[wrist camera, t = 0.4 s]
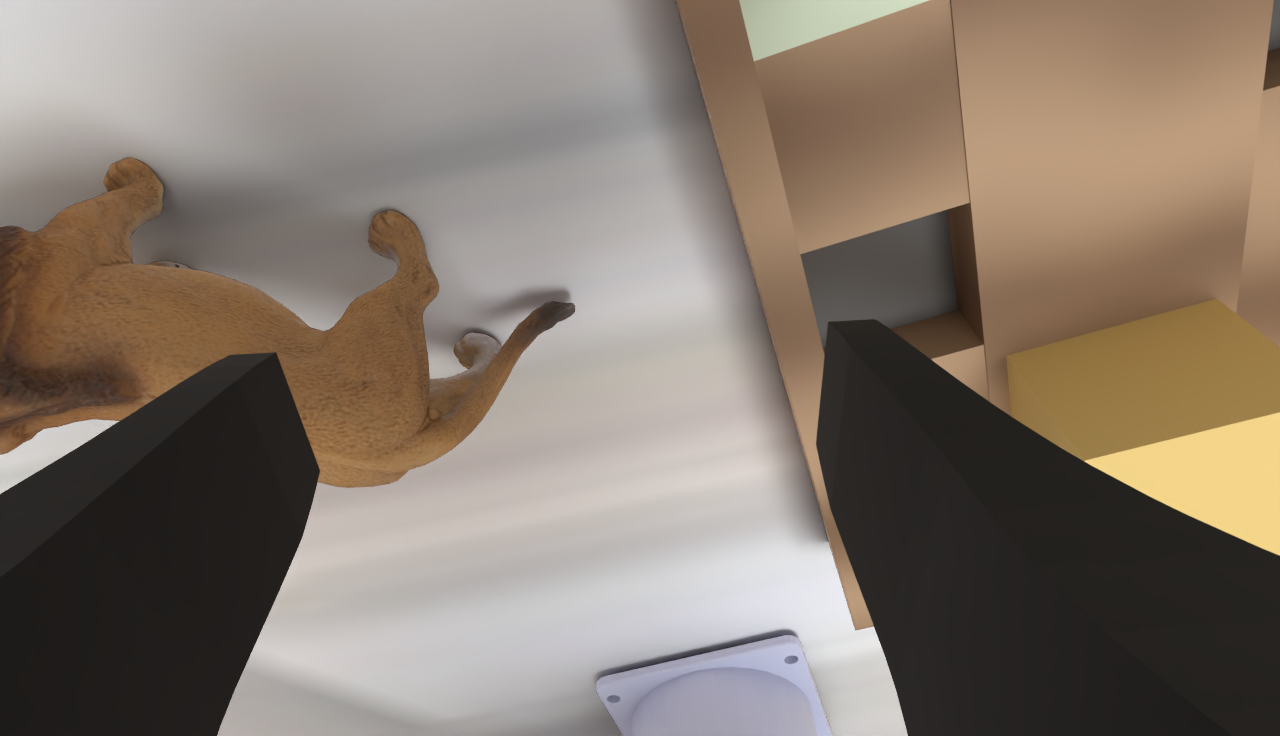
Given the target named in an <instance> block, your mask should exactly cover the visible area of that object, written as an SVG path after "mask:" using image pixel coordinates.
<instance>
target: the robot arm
mask: <svg viewBox="0 0 1280 736" xmlns="http://www.w3.org/2000/svg"><path fill="white" fill-rule="evenodd" d="M816 447H817V452H818V457H819V461H820V466H821V470H822V475H823V480H824V484H825V488H826V492H827V497H828V501H829V505H830V509H831V512H832V515H833V517H834V520H835V523H836V526H837V529H838V531H839V534H840V537H841V539H842V542H843V545H844V548H845V550H846V553H847V556H848V558H849V561H850V564H851V566H852V569H853V572H854V574H855V577H856V580H857V582H858V585H859V588H860V590H861V593H862V596H863V598H864V601H865V604H866V606H867V609H868V612H869V614H870V617H871V620H872V622H873V625H874V628H875V630H876V633H877V636H878V638H879V641H880V644H881V646H882V649H883V652H884V654H885V657H886V660H887V663H888V666H889V669H890V672H891V675H892V679H893V682H894V685H895V688H896V691H897V695H898V698H899V702H900V706H901V710H902V714H903V717H904V721H905V725H906V729H907V733H908V736H1280V556H1279V555H1277V554H1275V553H1272V552H1270V551H1267V550H1265V549H1262V548H1260V547H1258V546H1256V545H1253V544H1251V543H1249V542H1247V541H1244V540H1242V539H1240V538H1238V537H1235V536H1233V535H1231V534H1229V533H1227V532H1224V531H1222V530H1220V529H1218V528H1215V527H1213V526H1211V525H1209V524H1206V523H1204V522H1202V521H1200V520H1198V519H1195V518H1193V517H1191V516H1189V515H1187V514H1184V513H1182V512H1180V511H1178V510H1176V509H1174V508H1172V507H1170V506H1168V505H1166V504H1164V503H1162V502H1160V501H1158V500H1156V499H1154V498H1152V497H1150V496H1148V495H1146V494H1144V493H1142V492H1140V491H1138V490H1136V489H1135V488H1133V487H1131V486H1129V485H1127V484H1125V483H1123V482H1121V481H1120V480H1118V479H1116V478H1114V477H1112V476H1110V475H1108V474H1106V473H1104V472H1103V471H1101V470H1099V469H1097V468H1095V467H1093V466H1091V465H1090V464H1088V463H1086V462H1084V461H1083V460H1081V459H1079V458H1077V457H1076V456H1074V455H1072V454H1071V453H1069V452H1067V451H1065V450H1064V449H1062V448H1060V447H1059V446H1057V445H1056V444H1054V443H1052V442H1051V441H1049V440H1048V439H1046V438H1044V437H1043V436H1041V435H1040V434H1038V433H1037V432H1035V431H1033V430H1032V429H1030V428H1029V427H1027V426H1025V425H1024V424H1022V423H1021V422H1019V421H1017V420H1016V419H1014V418H1013V417H1011V416H1010V415H1008V414H1007V413H1005V412H1004V411H1002V410H1001V409H999V408H998V407H997V406H995V405H994V404H992V403H991V402H989V401H988V400H986V399H985V398H983V397H982V396H981V395H979V394H978V393H976V392H975V391H973V390H972V389H971V388H969V387H968V386H966V385H965V384H964V383H962V382H961V381H959V380H958V379H957V378H955V377H954V376H953V375H951V374H950V373H949V372H947V371H946V370H944V369H943V368H942V367H940V366H939V365H938V364H936V363H935V362H934V361H932V360H931V359H930V358H928V357H927V356H926V355H924V354H923V353H922V352H920V351H919V350H918V349H916V348H915V347H914V346H912V345H911V344H910V343H908V342H907V341H906V340H904V339H903V338H902V337H900V336H899V335H898V334H896V333H895V332H893V331H892V330H891V329H889V328H888V327H886V326H885V325H883V324H882V323H880V322H879V321H877V320H876V319H868V320H850V321H832V322H828V327H827V337H826V347H825V357H824V367H823V377H822V387H821V397H820V407H819V417H818V427H817V437H816ZM319 474H320V469H319V466H318V464H317V461H316V458H315V455H314V453H313V450H312V447H311V445H310V442H309V439H308V437H307V434H306V431H305V428H304V426H303V423H302V420H301V418H300V415H299V412H298V410H297V407H296V404H295V401H294V399H293V396H292V393H291V391H290V388H289V385H288V383H287V380H286V377H285V374H284V372H283V369H282V366H281V364H280V361H279V358H278V356H277V353H276V352H272V353H254V354H236V355H229V356H227V357H225V358H223V359H221V360H219V361H217V362H215V363H213V364H211V365H209V366H207V367H206V368H204V369H202V370H200V371H199V372H197V373H195V374H194V375H192V376H190V377H189V378H187V379H185V380H184V381H182V382H181V383H179V384H177V385H176V386H174V387H173V388H171V389H169V390H168V391H166V392H165V393H163V394H162V395H160V396H158V397H157V398H155V399H154V400H152V401H151V402H149V403H147V404H146V405H144V406H143V407H141V408H140V409H138V410H137V411H135V412H133V413H132V414H130V415H129V416H127V417H126V418H124V419H122V420H121V421H119V422H118V423H116V424H115V425H113V426H111V427H110V428H108V429H107V430H105V431H104V432H102V433H100V434H99V435H97V436H96V437H94V438H93V439H91V440H90V441H88V442H86V443H85V444H83V445H82V446H80V447H78V448H77V449H75V450H73V451H72V452H70V453H68V454H67V455H65V456H63V457H62V458H60V459H58V460H57V461H55V462H53V463H52V464H50V465H48V466H47V467H45V468H43V469H42V470H40V471H38V472H37V473H35V474H33V475H32V476H30V477H28V478H27V479H25V480H23V481H22V482H20V483H18V484H17V485H15V486H13V487H11V488H10V489H8V490H6V491H5V492H3V493H1V494H0V736H217V734H218V731H219V728H220V725H221V723H222V720H223V718H224V715H225V713H226V710H227V708H228V705H229V703H230V700H231V698H232V695H233V693H234V690H235V688H236V686H237V683H238V681H239V679H240V677H241V674H242V672H243V670H244V668H245V666H246V663H247V661H248V659H249V657H250V654H251V652H252V650H253V648H254V645H255V643H256V641H257V639H258V637H259V634H260V632H261V630H262V628H263V625H264V623H265V621H266V619H267V617H268V614H269V612H270V610H271V608H272V605H273V603H274V601H275V599H276V596H277V594H278V592H279V590H280V587H281V585H282V583H283V581H284V578H285V576H286V574H287V571H288V569H289V567H290V565H291V562H292V560H293V558H294V555H295V553H296V551H297V548H298V546H299V543H300V541H301V539H302V536H303V533H304V529H305V526H306V523H307V519H308V516H309V512H310V509H311V505H312V502H313V498H314V494H315V490H316V486H317V482H318V478H319ZM596 692H597V694H598V696H599V698H600V699H601V701H602V702H603V704H604V706H605V707H606V709H607V710H608V712H609V714H610V715H611V717H612V718H613V720H614V721H615V723H616V725H617V726H618V728H619V729H620V731H621V733H622V734H623V736H833V734H832V731H831V728H830V725H829V723H828V720H827V717H826V714H825V711H824V708H823V705H822V703H821V700H820V697H819V694H818V691H817V688H816V685H815V683H814V680H813V677H812V674H811V671H810V668H809V665H808V663H807V660H806V657H805V654H804V651H803V648H802V645H801V643H800V640H799V639H798V638H797V637H795V636H792V635H784V636H779V637H775V638H770V639H766V640H762V641H757V642H753V643H748V644H744V645H740V646H735V647H731V648H726V649H722V650H718V651H713V652H709V653H704V654H700V655H696V656H691V657H687V658H682V659H678V660H674V661H669V662H665V663H660V664H656V665H651V666H647V667H643V668H638V669H634V670H629V671H625V672H621V673H616V674H612V675H607V676H604V677H601V678H600V679H599V680H597V683H596Z"/></svg>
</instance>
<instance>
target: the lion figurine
mask: <svg viewBox="0 0 1280 736" xmlns="http://www.w3.org/2000/svg"><path fill="white" fill-rule="evenodd" d="M104 185H105V186H106V188H107V190H108V192H107V193H105V194H102V195H100V196H98V197H95V198H92V199H89V200H86V201H82V202H79V203H76V204H74V205H72V206H70V207H67V208H66V209H64V210H63V211H61V212H60V213H58V214H57V215H56V216H55V217H54V218H53V219H52V220H51V221H50V222H49V223H48V224H47V225H46V226H45V227H44V228H43V229H41V230H39V231H37V232H29V231H26V230H24V229H22V228H20V227H15V226H6V227H0V455H1V454H5V453H8V452H10V451H11V450H13V449H15V448H17V447H18V446H19V445H21V444H22V443H24V442H26V441H28V440H30V439H32V438H33V437H34V436H35V435H36V434H37V433H38V432H40V431H41V430H43V429H46V428H52V427H59V426H63V425H66V424H70V423H73V422H78V421H85V420H91V419H99V420H115V421H121V420H122V419H124V418H126V417H127V416H129V415H130V414H132V413H133V412H135V411H137V410H138V409H140V408H141V407H143V406H144V405H146V404H147V403H149V402H151V401H152V400H154V399H155V398H157V397H158V396H160V395H162V394H163V393H165V392H166V391H168V390H169V389H171V388H173V387H174V386H176V385H177V384H179V383H181V382H182V381H184V380H185V379H187V378H189V377H190V376H192V375H194V374H195V373H197V372H199V371H200V370H202V369H204V368H206V367H207V366H209V365H211V364H213V363H215V362H217V361H219V360H221V359H223V358H225V357H227V356H229V355H236V354H254V353H272V352H276V353H277V356H278V358H279V361H280V364H281V366H282V369H283V372H284V374H285V377H286V380H287V383H288V385H289V388H290V391H291V393H292V396H293V399H294V401H295V404H296V407H297V410H298V412H299V415H300V418H301V420H302V423H303V426H304V428H305V431H306V434H307V437H308V439H309V442H310V445H311V447H312V450H313V453H314V455H315V458H316V461H317V464H318V466H319V469H320V474H319V478H318V482H320V483H324V484H328V485H332V486H337V487H346V488H353V487H371V486H378V485H384V484H390V483H392V482H394V481H397V480H398V479H400V478H401V477H402V476H403V475H404V474H405V473H406V472H407V471H408V470H410V469H413V468H416V467H420V466H423V465H425V464H428V463H430V462H432V461H434V460H436V459H438V458H439V457H441V456H443V455H444V454H446V453H447V452H449V451H450V450H452V449H453V448H454V447H456V446H457V445H458V444H459V443H460V442H461V441H463V440H464V439H465V438H466V437H467V436H468V435H469V434H470V433H471V432H472V431H473V430H474V429H475V428H476V426H477V425H478V424H479V423H480V422H481V420H482V419H483V418H484V416H485V415H486V413H487V412H488V410H489V409H490V407H491V406H492V404H493V403H494V401H495V399H496V398H497V396H498V394H499V392H500V391H501V389H502V387H503V385H504V383H505V382H506V380H507V378H508V376H509V375H510V373H511V371H512V368H513V367H514V365H515V363H516V362H517V360H518V358H519V357H520V355H521V354H522V353H523V351H524V350H525V349H526V348H527V347H528V346H529V345H530V344H531V343H532V342H533V341H534V339H535V338H536V337H537V336H538V335H539V334H541V333H542V332H544V331H546V330H548V329H550V328H552V327H553V326H554V325H555V324H556V323H557V322H559V321H562V320H565V319H566V318H568V317H570V316H571V315H572V314H573V313H574V312H575V305H574V304H573V303H562V302H555V301H552V302H548V303H545V304H544V305H542V306H541V307H539V308H537V309H536V310H534V311H533V312H532V313H531V314H530V315H529V316H528V317H527V318H526V319H525V320H524V321H522V322H521V323H520V324H518V326H517V327H516V329H515V330H514V332H513V333H512V334H511V336H510V337H509V339H508V340H507V341H506V342H505V344H504V345H503V346H502V347H501V345H500V344H499V343H498V342H497V341H496V340H495V339H493V338H492V337H490V336H488V335H485V334H480V333H473V332H472V333H468V334H466V335H465V336H464V337H463V338H462V339H460V340H459V341H458V342H457V343H456V344H455V347H454V353H455V355H456V356H457V358H458V359H459V362H460V364H462V365H463V366H464V367H466V368H467V369H468V370H466V371H464V372H463V373H460V374H457V375H455V376H452V377H448V378H440V379H430V380H429V362H428V354H427V347H426V341H425V334H424V328H423V312H424V310H425V308H426V307H427V305H428V304H429V303H430V302H431V301H432V300H433V299H434V298H435V297H436V296H437V294H438V292H439V284H438V280H437V278H436V276H435V274H434V272H433V270H432V268H431V266H430V263H429V261H428V258H427V255H426V252H425V246H424V243H423V240H422V237H421V235H420V233H419V231H418V229H417V228H416V226H415V225H414V224H413V223H412V222H411V221H410V220H409V219H408V218H407V217H405V216H403V215H402V214H400V213H398V212H395V211H391V210H389V211H384V212H381V213H379V214H377V215H376V216H375V217H374V218H373V220H372V222H371V225H370V227H369V239H368V242H369V245H370V247H371V249H372V250H373V251H374V252H376V253H378V254H379V255H382V256H384V257H386V258H389V259H392V260H394V261H396V262H397V264H398V270H397V273H396V275H395V276H394V277H393V278H392V279H391V280H389V281H387V282H385V283H384V284H382V285H381V286H379V287H377V288H376V289H374V290H372V291H370V292H368V293H365V294H363V295H362V296H360V297H358V298H356V299H355V300H354V301H353V302H352V303H351V304H350V305H349V307H348V308H347V310H346V311H345V313H344V315H343V316H342V317H341V319H340V320H339V321H338V322H337V323H336V324H335V326H334V327H332V328H331V329H329V330H326V331H321V330H317V329H314V328H310V327H309V326H307V325H306V324H305V323H304V322H303V321H302V320H301V319H300V318H299V317H298V316H296V315H295V314H294V313H292V312H291V311H290V310H288V309H287V308H286V307H284V306H283V305H282V304H280V303H279V302H277V301H275V300H274V299H272V298H271V297H269V296H268V295H267V294H265V293H264V292H262V291H260V290H258V289H257V288H255V287H252V286H249V285H246V284H244V283H241V282H238V281H236V280H233V279H230V278H227V277H225V276H221V275H217V274H213V273H209V272H205V271H200V270H192V269H190V268H188V267H186V266H185V265H183V264H179V263H174V262H169V261H157V262H153V263H150V264H148V265H138V264H133V262H132V247H131V242H130V236H131V235H132V234H133V233H134V231H135V230H136V229H137V228H138V227H139V226H140V225H141V224H143V223H145V222H147V221H149V220H152V219H154V218H156V217H157V216H158V215H160V214H161V212H162V210H163V204H162V198H163V191H164V188H163V185H162V183H161V182H160V180H159V179H158V178H157V176H156V175H155V174H154V172H153V171H152V170H151V169H150V168H149V167H148V166H147V165H145V164H144V163H142V162H140V161H138V160H136V159H132V158H125V159H122V160H120V161H118V162H116V163H114V164H112V165H111V166H110V168H109V170H108V172H107V174H106V176H105V178H104Z"/></svg>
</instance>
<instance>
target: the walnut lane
mask: <svg viewBox="0 0 1280 736" xmlns="http://www.w3.org/2000/svg"><path fill="white" fill-rule="evenodd" d="M676 4H677V8H678V11H679V15H680V18H681V22H682V25H683V29H684V32H685V36H686V39H687V43H688V46H689V50H690V53H691V57H692V61H693V64H694V68H695V71H696V75H697V78H698V82H699V85H700V89H701V92H702V96H703V99H704V103H705V106H706V110H707V114H708V117H709V121H710V124H711V128H712V131H713V135H714V138H715V142H716V145H717V149H718V152H719V156H720V159H721V163H722V167H723V170H724V174H725V177H726V181H727V184H728V188H729V191H730V195H731V198H732V202H733V205H734V209H735V213H736V216H737V220H738V223H739V227H740V230H741V234H742V237H743V241H744V244H745V248H746V251H747V255H748V258H749V262H750V266H751V269H752V273H753V276H754V280H755V283H756V287H757V290H758V294H759V297H760V301H761V304H762V308H763V311H764V315H765V319H766V322H767V326H768V329H769V333H770V336H771V340H772V343H773V347H774V350H775V354H776V357H777V361H778V364H779V368H780V372H781V375H782V379H783V382H784V386H785V389H786V393H787V396H788V400H789V403H790V407H791V410H792V414H793V417H794V421H795V425H796V428H797V432H798V435H799V439H800V442H801V446H802V449H803V453H804V456H805V460H806V463H807V467H808V470H809V474H810V478H811V481H812V485H813V488H814V492H815V495H816V499H817V502H818V506H819V509H820V513H821V516H822V520H823V524H824V527H825V531H826V534H827V538H828V541H829V545H830V548H831V551H832V555H833V558H834V561H835V564H836V568H837V571H838V574H839V578H840V581H841V584H842V588H843V591H844V594H845V598H846V601H847V604H848V607H849V611H850V614H851V617H852V621H853V624H854V627H855V630H860V629H864V628H868V627H873V626H874V625H873V622H872V620H871V617H870V614H869V612H868V609H867V606H866V604H865V601H864V598H863V596H862V593H861V590H860V588H859V585H858V582H857V580H856V577H855V574H854V572H853V569H852V566H851V564H850V561H849V558H848V556H847V553H846V550H845V548H844V545H843V542H842V539H841V537H840V534H839V531H838V529H837V526H836V523H835V520H834V517H833V515H832V512H831V509H830V505H829V501H828V497H827V492H826V488H825V484H824V480H823V475H822V470H821V466H820V461H819V457H818V452H817V447H816V437H817V427H818V417H819V407H820V397H821V387H822V377H823V367H824V357H825V347H826V337H827V327H828V322H832V321H850V320H868V319H876V320H877V321H879V322H880V323H882V324H883V325H885V326H886V327H888V328H889V329H891V330H892V331H893V332H895V333H896V334H898V335H899V336H900V337H902V338H903V339H904V340H906V341H907V342H908V343H910V344H911V345H912V346H914V347H915V348H916V349H918V350H919V351H920V352H922V353H923V354H924V355H926V356H927V357H928V358H930V359H931V360H932V361H934V362H935V363H936V364H938V365H939V366H940V367H942V368H943V369H944V370H946V371H947V372H949V373H950V374H951V375H953V376H954V377H955V378H957V379H958V380H959V381H961V382H962V383H964V384H965V385H966V386H968V387H969V388H971V389H972V390H973V391H975V392H976V393H978V394H979V395H981V396H982V397H983V398H985V399H986V400H988V401H989V402H991V403H992V404H994V405H995V406H997V407H998V408H999V409H1001V410H1002V411H1004V412H1005V413H1007V414H1008V415H1010V416H1011V409H1010V397H1009V384H1008V371H1007V359H1006V356H1008V355H1011V354H1015V353H1019V352H1022V351H1026V350H1030V349H1033V348H1037V347H1041V346H1044V345H1048V344H1052V343H1055V342H1059V341H1063V340H1066V339H1070V338H1074V337H1077V336H1081V335H1085V334H1088V333H1092V332H1096V331H1099V330H1103V329H1107V328H1110V327H1114V326H1118V325H1121V324H1125V323H1129V322H1132V321H1136V320H1140V319H1143V318H1147V317H1151V316H1154V315H1158V314H1162V313H1165V312H1169V311H1173V310H1176V309H1180V308H1184V307H1187V306H1191V305H1195V304H1199V303H1202V302H1206V301H1210V300H1213V299H1218V300H1219V301H1220V302H1222V303H1223V304H1224V305H1226V306H1227V307H1228V308H1230V309H1231V310H1232V311H1233V312H1235V313H1236V314H1237V315H1239V316H1240V317H1241V318H1242V319H1244V320H1245V321H1246V322H1248V323H1249V324H1250V325H1252V326H1253V327H1254V328H1255V329H1257V330H1258V331H1259V332H1261V333H1262V334H1263V335H1265V336H1266V337H1267V338H1268V339H1270V340H1271V341H1272V342H1274V343H1275V344H1276V345H1277V346H1279V347H1280V0H676Z"/></svg>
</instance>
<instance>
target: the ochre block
mask: <svg viewBox="0 0 1280 736" xmlns="http://www.w3.org/2000/svg"><path fill="white" fill-rule="evenodd" d="M1006 359H1007V371H1008V384H1009V397H1010V409H1011V417H1013V418H1014V419H1016V420H1017V421H1019V422H1021V423H1022V424H1024V425H1025V426H1027V427H1029V428H1030V429H1032V430H1033V431H1035V432H1037V433H1038V434H1040V435H1041V436H1043V437H1044V438H1046V439H1048V440H1049V441H1051V442H1052V443H1054V444H1056V445H1057V446H1059V447H1060V448H1062V449H1064V450H1065V451H1067V452H1069V453H1071V454H1072V455H1074V456H1076V457H1077V458H1079V459H1081V460H1083V461H1084V462H1086V463H1088V464H1090V465H1091V466H1093V467H1095V468H1097V469H1099V470H1101V471H1103V472H1104V473H1106V474H1108V475H1110V476H1112V477H1114V478H1116V479H1118V480H1120V481H1121V482H1123V483H1125V484H1127V485H1129V486H1131V487H1133V488H1135V489H1136V490H1138V491H1140V492H1142V493H1144V494H1146V495H1148V496H1150V497H1152V498H1154V499H1156V500H1158V501H1160V502H1162V503H1164V504H1166V505H1168V506H1170V507H1172V508H1174V509H1176V510H1178V511H1180V512H1182V513H1184V514H1187V515H1189V516H1191V517H1193V518H1195V519H1198V520H1200V521H1202V522H1204V523H1206V524H1209V525H1211V526H1213V527H1215V528H1218V529H1220V530H1222V531H1224V532H1227V533H1229V534H1231V535H1233V536H1235V537H1238V538H1240V539H1242V540H1244V541H1247V542H1249V543H1251V544H1253V545H1256V546H1258V547H1260V548H1262V549H1265V550H1267V551H1270V552H1272V553H1275V554H1277V555H1279V556H1280V347H1279V346H1277V345H1276V344H1275V343H1274V342H1272V341H1271V340H1270V339H1268V338H1267V337H1266V336H1265V335H1263V334H1262V333H1261V332H1259V331H1258V330H1257V329H1255V328H1254V327H1253V326H1252V325H1250V324H1249V323H1248V322H1246V321H1245V320H1244V319H1242V318H1241V317H1240V316H1239V315H1237V314H1236V313H1235V312H1233V311H1232V310H1231V309H1230V308H1228V307H1227V306H1226V305H1224V304H1223V303H1222V302H1220V301H1219V300H1218V299H1213V300H1210V301H1206V302H1202V303H1199V304H1195V305H1191V306H1187V307H1184V308H1180V309H1176V310H1173V311H1169V312H1165V313H1162V314H1158V315H1154V316H1151V317H1147V318H1143V319H1140V320H1136V321H1132V322H1129V323H1125V324H1121V325H1118V326H1114V327H1110V328H1107V329H1103V330H1099V331H1096V332H1092V333H1088V334H1085V335H1081V336H1077V337H1074V338H1070V339H1066V340H1063V341H1059V342H1055V343H1052V344H1048V345H1044V346H1041V347H1037V348H1033V349H1030V350H1026V351H1022V352H1019V353H1015V354H1011V355H1008V356H1006Z"/></svg>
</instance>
